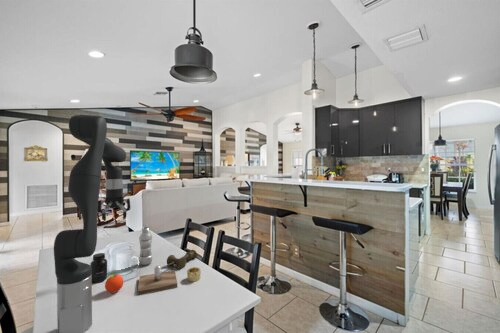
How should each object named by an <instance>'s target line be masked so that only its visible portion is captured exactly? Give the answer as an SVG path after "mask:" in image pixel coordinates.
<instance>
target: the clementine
mask: <svg viewBox="0 0 500 333" xmlns="http://www.w3.org/2000/svg"><path fill="white" fill-rule="evenodd" d="M106 279H107V280H106ZM106 279H105V280H104V281H105V284H104V288H105V290H106V291H107V292H108V293H111V294H112V293H116V292H118V291H120V290H121V289H122V287H123V285H124V278H123V276H121V275H120V274H111V275H107V278H106Z"/></svg>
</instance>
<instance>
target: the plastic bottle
mask: <svg viewBox="0 0 500 333" xmlns="http://www.w3.org/2000/svg"><path fill="white" fill-rule="evenodd" d="M138 240H139V248H140V250H139V256H138V262H140V263H139V265H140V266H147V265H150V264H151V263H152V261H153V256H152V243H153V234H152V233H151V232H150V227H149V226H144V227H141V234H140V236H139V238H138Z"/></svg>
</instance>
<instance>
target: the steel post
mask: <svg viewBox="0 0 500 333" xmlns="http://www.w3.org/2000/svg"><path fill="white" fill-rule="evenodd" d="M161 273H162V267H161V265H156V266H155V267H154V272H153V274H154V275H155V281H160V280H161V279H162V278H161Z"/></svg>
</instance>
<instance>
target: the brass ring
mask: <svg viewBox="0 0 500 333" xmlns="http://www.w3.org/2000/svg"><path fill="white" fill-rule="evenodd" d="M186 277H187V278H186V279H187V281H188V282H192V283H193V282H197V281H200V279H201V268H200V267H195V266H194V267H190V268H188V269H187V270H186Z"/></svg>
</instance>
